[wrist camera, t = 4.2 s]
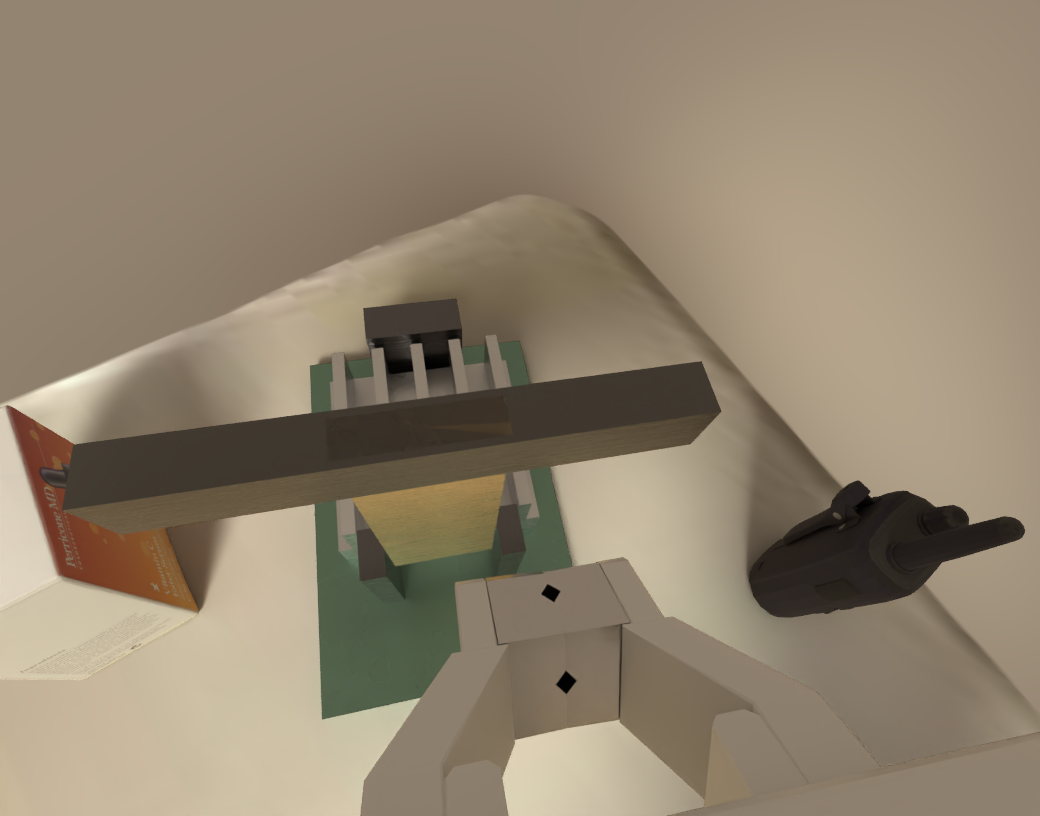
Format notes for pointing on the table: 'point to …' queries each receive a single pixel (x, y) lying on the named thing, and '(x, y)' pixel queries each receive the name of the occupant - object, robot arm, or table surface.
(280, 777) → the table surface
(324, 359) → the table surface
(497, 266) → the table surface
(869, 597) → the two-way radio
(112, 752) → the table surface
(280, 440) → the lever
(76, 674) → the small box
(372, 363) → the board
